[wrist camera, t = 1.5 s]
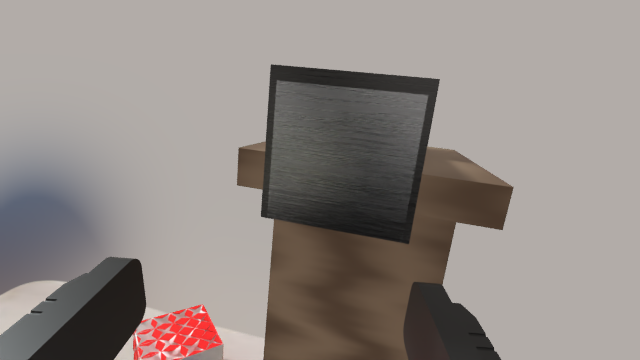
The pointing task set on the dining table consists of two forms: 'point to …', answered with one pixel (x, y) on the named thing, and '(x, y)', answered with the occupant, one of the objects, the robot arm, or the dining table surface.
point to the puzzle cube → (178, 337)
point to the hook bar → (346, 149)
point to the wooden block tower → (366, 264)
